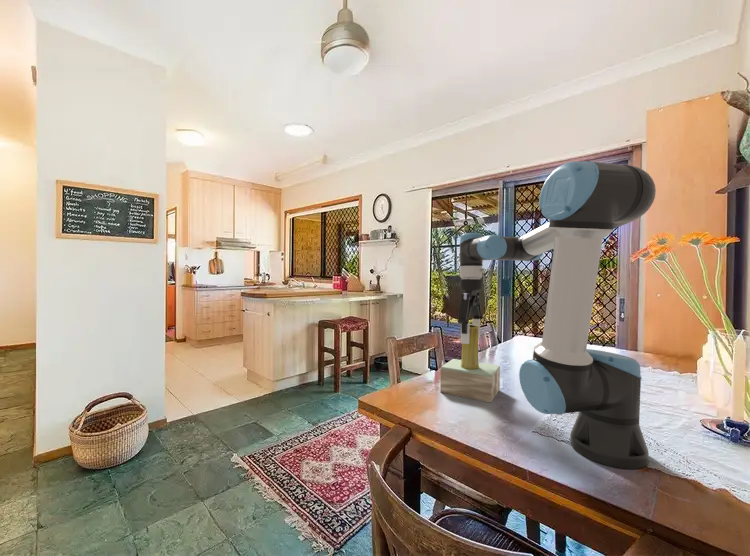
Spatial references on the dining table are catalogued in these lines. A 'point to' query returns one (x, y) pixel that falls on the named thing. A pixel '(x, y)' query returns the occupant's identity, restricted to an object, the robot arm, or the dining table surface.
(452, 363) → the lid
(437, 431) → the dining table surface
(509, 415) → the dining table surface
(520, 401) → the dining table surface
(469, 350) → the vase
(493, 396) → the box
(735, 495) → the dining table surface
